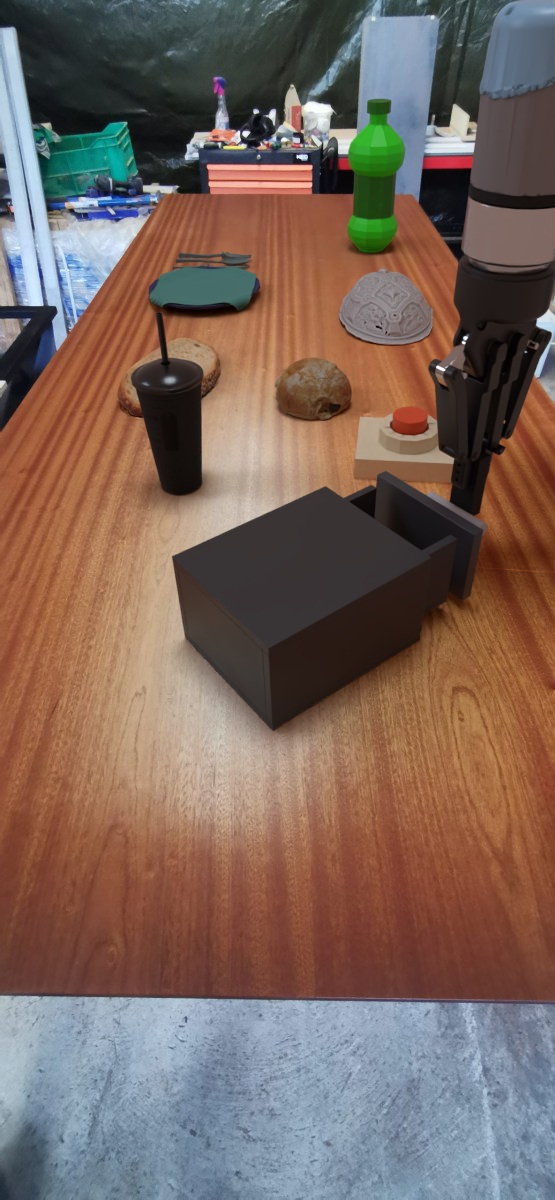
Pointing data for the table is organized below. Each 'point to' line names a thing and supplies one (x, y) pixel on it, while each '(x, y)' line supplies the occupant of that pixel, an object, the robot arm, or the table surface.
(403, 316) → the grey ornate dome
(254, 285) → the cutlery set
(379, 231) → the plastic bottle
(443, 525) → the drawer
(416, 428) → the button
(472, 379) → the robot arm
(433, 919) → the table surface
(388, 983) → the table surface
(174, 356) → the slice of bread
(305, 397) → the bread roll
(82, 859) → the table surface
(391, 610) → the cabinet
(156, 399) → the drinking cup
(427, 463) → the control block
